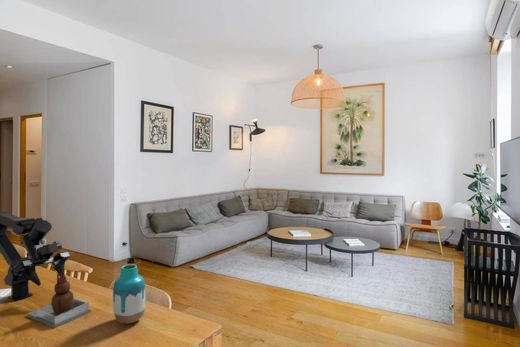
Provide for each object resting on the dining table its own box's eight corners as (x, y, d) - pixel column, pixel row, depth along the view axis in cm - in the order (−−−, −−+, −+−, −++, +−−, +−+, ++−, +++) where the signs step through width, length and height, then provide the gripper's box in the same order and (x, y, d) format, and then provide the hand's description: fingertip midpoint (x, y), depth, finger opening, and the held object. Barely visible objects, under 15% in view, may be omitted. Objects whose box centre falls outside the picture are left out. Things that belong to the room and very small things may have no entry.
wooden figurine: (57, 318, 114) (55, 276, 113) (49, 314, 117) (47, 273, 117) (77, 311, 120) (75, 270, 119) (68, 307, 123) (67, 267, 122)
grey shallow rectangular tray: (26, 316, 118) (26, 306, 118) (63, 301, 130) (62, 293, 129) (54, 328, 110) (54, 317, 110) (90, 311, 121) (90, 302, 121)
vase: (152, 316, 118) (151, 263, 117) (132, 330, 108) (130, 273, 107) (128, 311, 122) (127, 260, 121) (106, 325, 112) (104, 270, 111)
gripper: (21, 238, 117) (39, 276, 112) (69, 231, 134) (86, 264, 130) (4, 256, 120) (21, 293, 115) (54, 247, 137) (70, 279, 133)
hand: (52, 281), depth 123 cm, fingers open, 9 cm apart
